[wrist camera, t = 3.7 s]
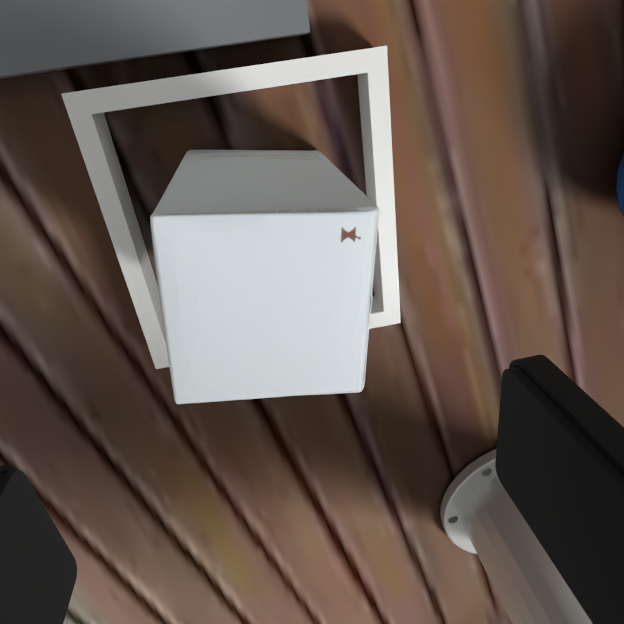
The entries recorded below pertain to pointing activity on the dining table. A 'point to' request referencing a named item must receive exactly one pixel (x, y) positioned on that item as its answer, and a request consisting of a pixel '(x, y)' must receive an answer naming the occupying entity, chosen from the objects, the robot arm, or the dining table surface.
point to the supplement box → (264, 275)
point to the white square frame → (94, 102)
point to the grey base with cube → (134, 29)
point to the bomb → (621, 185)
